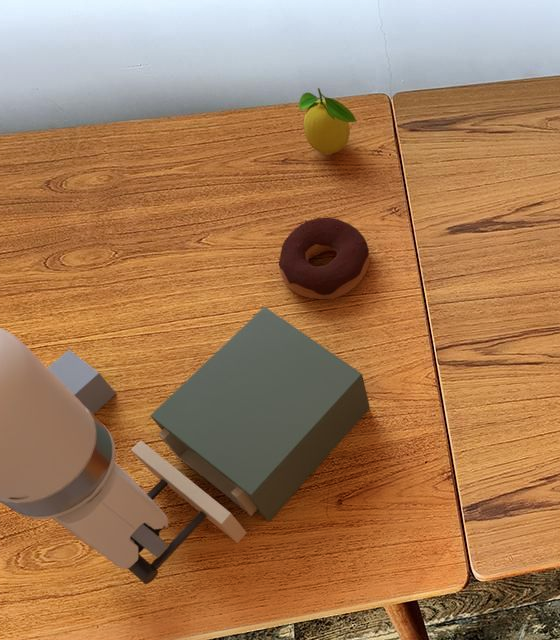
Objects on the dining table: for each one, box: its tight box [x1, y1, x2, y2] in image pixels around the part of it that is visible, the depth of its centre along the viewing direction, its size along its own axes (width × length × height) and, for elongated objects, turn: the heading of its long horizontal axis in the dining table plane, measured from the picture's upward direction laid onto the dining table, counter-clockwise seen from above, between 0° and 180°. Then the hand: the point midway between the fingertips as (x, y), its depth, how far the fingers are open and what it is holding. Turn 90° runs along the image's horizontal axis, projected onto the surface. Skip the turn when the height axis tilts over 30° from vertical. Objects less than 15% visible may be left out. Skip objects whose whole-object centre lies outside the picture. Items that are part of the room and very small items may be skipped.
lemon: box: [297, 87, 358, 155], centre depth 92 cm, size 7×6×10 cm
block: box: [47, 349, 117, 415], centre depth 76 cm, size 4×4×4 cm
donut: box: [278, 216, 370, 300], centre depth 85 cm, size 10×10×4 cm
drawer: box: [127, 428, 257, 585], centre depth 70 cm, size 21×11×6 cm, turn 144°
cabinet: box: [150, 306, 371, 522], centre depth 73 cm, size 15×13×8 cm
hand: (145, 534), depth 66 cm, fingers closed
